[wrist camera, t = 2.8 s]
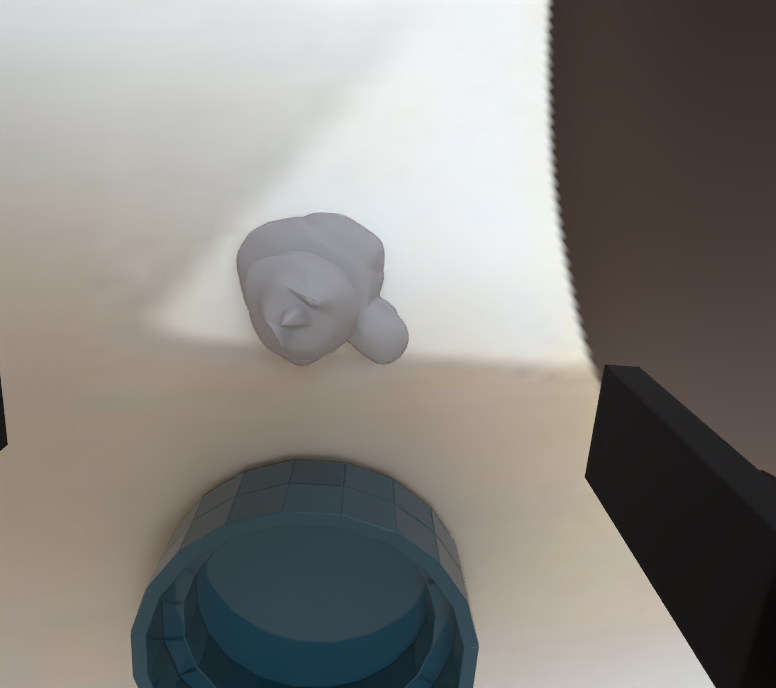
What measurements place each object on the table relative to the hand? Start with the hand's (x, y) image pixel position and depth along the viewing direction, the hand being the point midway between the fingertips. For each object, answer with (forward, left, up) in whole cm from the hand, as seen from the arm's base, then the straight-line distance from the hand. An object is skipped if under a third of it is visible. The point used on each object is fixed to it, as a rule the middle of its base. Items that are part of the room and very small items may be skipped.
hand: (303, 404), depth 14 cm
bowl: (+14, 0, -12) cm, 18 cm away
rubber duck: (0, 0, -12) cm, 12 cm away
